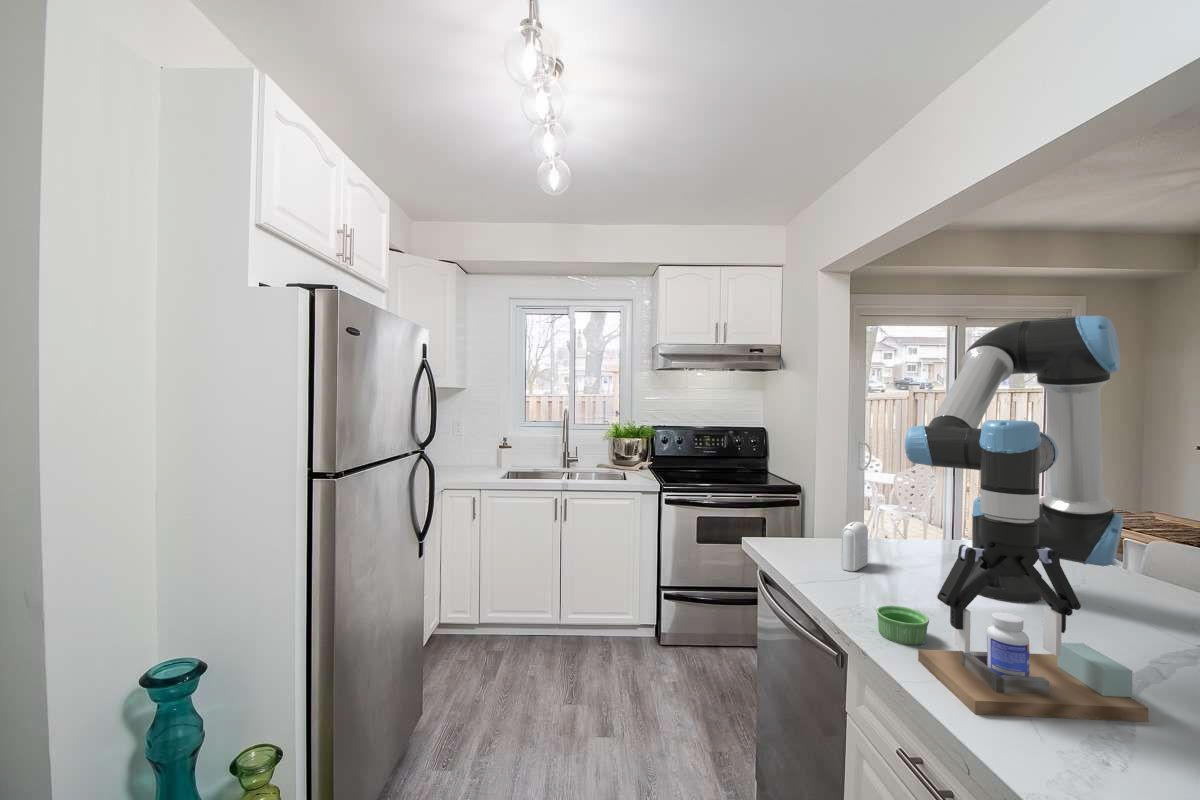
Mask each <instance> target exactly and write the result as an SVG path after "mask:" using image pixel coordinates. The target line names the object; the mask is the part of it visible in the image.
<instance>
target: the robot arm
mask: <svg viewBox="0 0 1200 800" xmlns="http://www.w3.org/2000/svg"><path fill="white" fill-rule="evenodd" d="M1120 352H1121V351H1120V345H1119V340H1118V335H1117V332H1116V328H1115V327H1114V324H1113V322H1112V321H1111V320H1110V318H1108V317H1106V316H1103V315H1077V316H1076V315H1074V316H1065V317H1055V318H1044V319H1036V320H1017V321H1014V322H1010V323H1006V324H1003V325H1001V326H999V327H996V328H994V329H992V330H990V331H989V332H987V333H986V334H984V335H983V336H981V337H979V338H978V339H977V340H976V341H974V342H973V343H972V344H971V345H970V346H969V348H968V349H967V350H966V352H965V353H964V354H963V356H962V358H961V362H960V366H961V370H960V371H959V374H958V375H957V377H956V378H955V380H954V381H953V384H952V385H951V387H950V388H949V390H948V392H947V394H946V396H945V397H944V399H943V401H942V402H941V404H940V406H939V407H938V409H937V411H936V412H935V414H934V416H933V418H932V420H930V422H929V424H928V425H925V424H922V425H914V426H911V427H910V428H909V429H908V430H907V432H906V434H905V439H904V450H905V455H906V457H907V459H908V461H910V462H911V463H912V464H915V465H916V464H918V465H922V466H929V467H931V468H933V467H939V468H949V469H950V468H952V469H963V470H973V471H980V473H979V475H980V487H979V488H980V489H979V490H980V494H979V495H980V496H978V497H976V498H975V499H974V500H973V506H972V513H971V517H972V519H971V520H972V524H971V525H972V530H971V531H972V534H971V535H972V537H971V542H972V544H971V545H972V546H968V545H966V544H960V546H959V547H958V551H957V552H958V555H957V559H956V560H955V562H954V564H953V566H952V568H951V569H950V571H949V573H948V575H947V577H946V579H945V581H944V582H943V585H942V586H941V588H940V589H939V591H938V593H937V597H936V598H937V599H938V600H939V601H940V602H942V603H943V604H944V605H946V606H948V607H950V608H949V609H950V611H949V613H950V614H949V616H950V617H949V622H950V625H951V626H952V628H954V645H955V646H956V647H957V648H958V649H959V650H960V651H964V652H965V653H970V651H971V611H970V610H968V609H967V607H968V606H969V605H970V604H971V603H972V602H973V601H974V600H975V599H976V598H977V596H978V595H980V596H984V597H986V598H991V599H995V600H999V601H1004V602H1012V603H1025V604H1026V603H1028V604H1029V603H1037V602H1039V601H1041V600H1042V599H1043V600H1044V601H1045V603H1046V604H1047V605H1048V606H1049V607H1050V608H1049V607H1042V608H1043V613H1042V614H1043V616H1042V617H1043V621H1042V623H1043V624H1042V648H1043V649H1044V650H1046V651H1047V652H1048V653H1051V654H1054V655H1055V656H1061V643H1062V634H1065V632H1066V630H1067V617H1071V616H1072V615H1073V610H1075V611H1079V610H1080V609H1081V605H1082V604H1081V603H1080V600H1079V598H1078V597H1077V596H1076V593H1075V591H1074V589H1073V588H1072V585H1071V584H1070V582H1069V579H1068V578H1067V575H1066V574H1065V571H1064V570H1063V567H1062V566H1061V560H1063V561H1067V562H1068V561H1069V562H1074V563H1080V564H1083V565H1092V566H1099V567H1108V566H1110V565H1113V563H1114V562H1115V560H1116V556H1117V554H1118V550H1119V546H1120V542H1121V537H1122V531H1123V526H1124V516H1123V514H1120V513H1118V512H1114V505H1113V502H1111V501H1109V499H1107V498H1105V496H1104V491H1103V490H1104V488H1103V487H1104V485H1103V484H1104V483H1103V449H1102V446H1103V445H1102V444H1103V443H1102V413H1101V412H1102V411H1101V410H1102V408H1101V407H1102V405H1101V403H1102V402H1101V389H1102V388H1103V386H1105V385H1106V384H1107V383H1109V382H1110V381H1111V374H1113V373H1116V372H1118V371H1119V370H1120V368H1121V353H1120ZM1015 374H1017V375H1018V374H1020V375H1021V374H1024V375H1025V374H1026V375H1027V374H1028V375H1029V374H1033V375H1034V374H1036V383H1037V384H1038V385H1040V386H1041V387H1043V388H1044V389H1045V390H1046V406H1047V432H1048V433H1044V432H1042V431H1041V430H1040V426H1039V424H1038V423H1037V422H1035V421H1030V420H1013V419H1011V420H1010V419H1009V420H1008V419H1006V420H1005V419H1003V420H1002V419H999V420H998V419H996V420H995V419H991V420H990V419H988V420H986V421H984V422H983V423H982V424H981V422H982V420H983V418H984V416H985V414H986V412H987V410H988V408H989V406H990V405H991V403H992V400H994V396H995V395H996V393H997V391H998V389H999V387H1000V385H1001V384H1002V382H1005V381H1007V379H1009V377H1011V375H1015ZM980 424H981V428H979V426H980ZM1048 470H1049V483H1050V485H1049V486H1050V493H1048V494H1047V495H1045V496H1044V497H1043V498H1042V499H1041V503H1040V474H1042V473H1045V472H1047V471H1048ZM1037 561H1039V562H1041V565H1042V567H1043V569H1044V571H1045V574H1046V575H1047V577H1048V579H1049V581H1050V583H1051V585H1052V587H1053V588H1052V587H1051V586H1050V585H1049V583H1047V582H1046V580H1045V579H1044V578H1043V575H1042V574H1041V572H1040V571H1038V569H1037V568H1036V567H1034V566H1035V564H1036V563H1038V562H1037Z"/></svg>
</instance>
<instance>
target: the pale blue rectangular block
mask: <svg viewBox="0 0 1200 800" xmlns="http://www.w3.org/2000/svg"><path fill="white" fill-rule="evenodd" d="M1058 667H1059V668H1061V669H1062V670H1064V671H1065V672H1067V673H1069V674H1070V675H1072V676H1073V677H1075V678H1076V679H1078V680H1079V681H1081V682H1083V683H1084V684H1086V685H1087V686H1089V687H1090V688H1092V689H1094V690H1095V691H1097V692H1098V693H1100V694H1101V695H1103V696H1116V697H1131V698H1133V670H1132V669H1131V668H1129V667H1127V666H1125V665H1123V664H1121V663H1119V662H1118V661H1116V660H1114V659H1112V658H1111V657H1109V656H1107V655H1105V654H1103V653H1101V652H1100V651H1098V650H1096V649H1094V648H1092V647H1091V646H1090V645H1087V644H1085V643H1084V642H1083V643H1082V642H1081V643H1080V642H1079V643H1078V642H1061V656H1058Z"/></svg>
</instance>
